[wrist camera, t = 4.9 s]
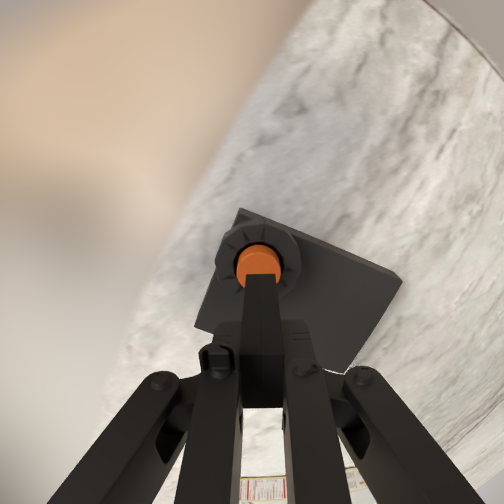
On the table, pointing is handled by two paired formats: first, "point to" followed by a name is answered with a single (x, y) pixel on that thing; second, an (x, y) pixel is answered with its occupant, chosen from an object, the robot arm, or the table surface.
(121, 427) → the robot arm
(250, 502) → the cereal box
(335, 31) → the table surface
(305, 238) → the scale
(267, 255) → the button
